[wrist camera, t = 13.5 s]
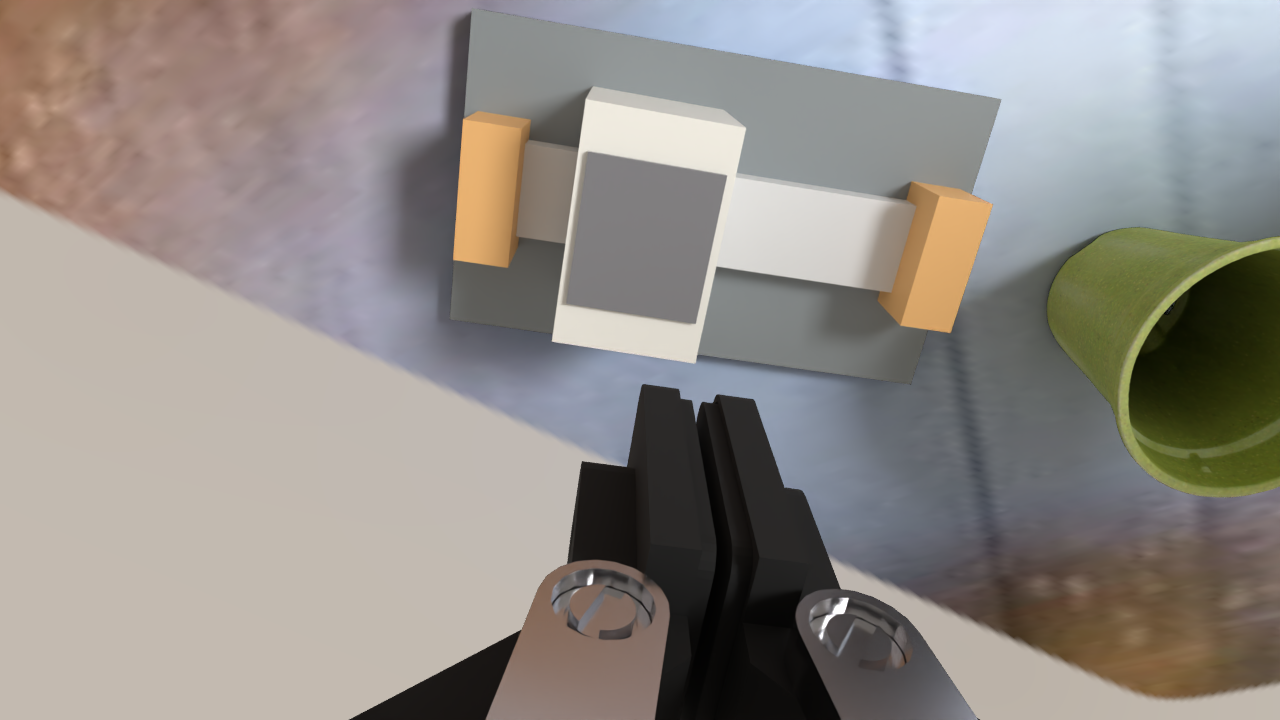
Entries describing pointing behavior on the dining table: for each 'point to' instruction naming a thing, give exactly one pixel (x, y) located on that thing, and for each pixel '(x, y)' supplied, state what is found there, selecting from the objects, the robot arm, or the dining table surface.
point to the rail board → (733, 193)
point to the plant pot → (1181, 352)
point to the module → (645, 224)
